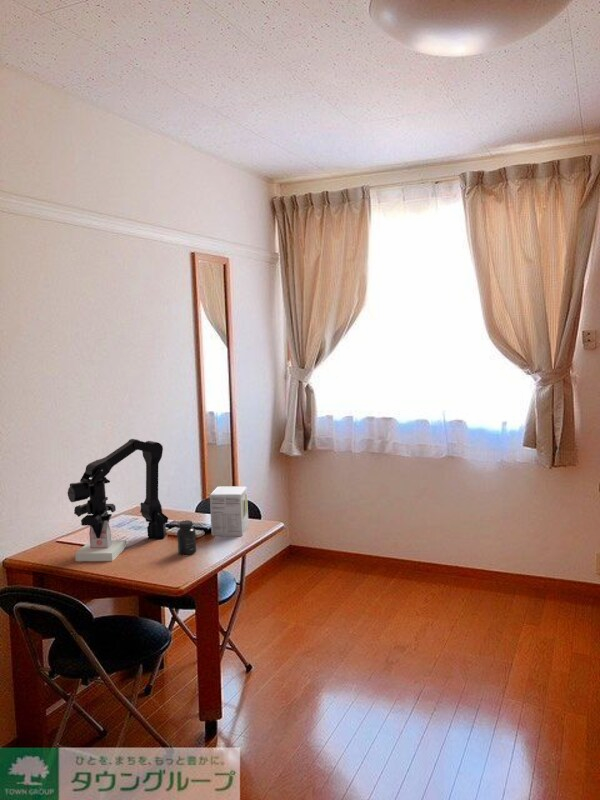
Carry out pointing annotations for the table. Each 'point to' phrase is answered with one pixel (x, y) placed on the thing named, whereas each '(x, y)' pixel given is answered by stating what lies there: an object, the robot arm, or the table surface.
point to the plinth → (100, 552)
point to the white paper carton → (101, 537)
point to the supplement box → (229, 511)
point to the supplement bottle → (186, 538)
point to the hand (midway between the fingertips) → (100, 536)
